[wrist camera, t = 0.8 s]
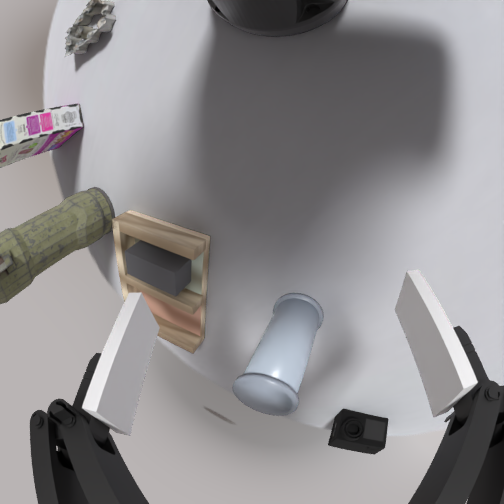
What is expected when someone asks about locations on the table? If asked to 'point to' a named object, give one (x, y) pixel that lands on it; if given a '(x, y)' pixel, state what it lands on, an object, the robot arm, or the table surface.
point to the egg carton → (83, 32)
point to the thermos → (51, 238)
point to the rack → (161, 303)
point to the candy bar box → (37, 132)
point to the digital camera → (359, 432)
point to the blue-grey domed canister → (281, 357)
